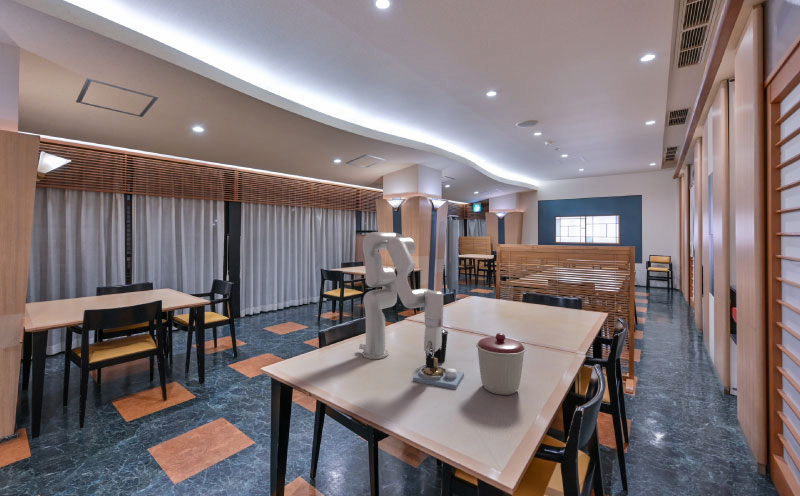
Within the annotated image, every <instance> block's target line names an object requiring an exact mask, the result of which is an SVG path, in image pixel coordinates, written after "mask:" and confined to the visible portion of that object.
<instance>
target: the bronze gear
mask: <svg viewBox="0 0 800 496" xmlns="http://www.w3.org/2000/svg"><path fill="white" fill-rule="evenodd" d="M433 358H434V368H427V367H426V368H424V374H426V375H429V376H440V377H441V376H443V375H444V370H443V369H442V368H438V366H439V365H438V364H439V363H438V358H437V357H433Z"/></svg>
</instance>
